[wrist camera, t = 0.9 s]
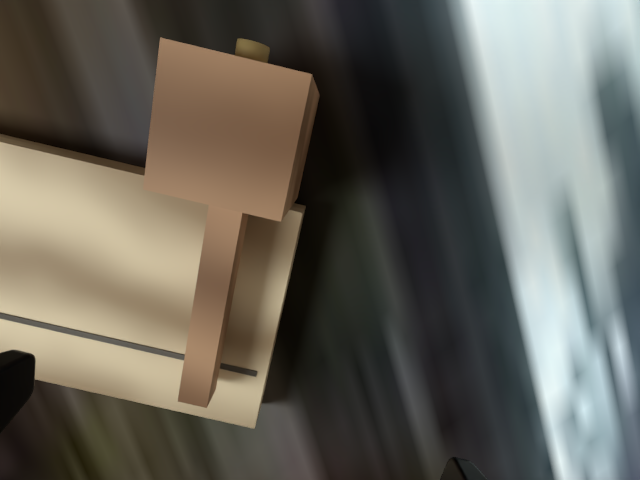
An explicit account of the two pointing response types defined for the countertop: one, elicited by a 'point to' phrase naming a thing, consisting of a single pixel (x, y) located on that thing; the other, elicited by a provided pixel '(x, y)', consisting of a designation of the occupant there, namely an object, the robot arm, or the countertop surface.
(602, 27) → the countertop surface
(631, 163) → the countertop surface
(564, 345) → the countertop surface
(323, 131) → the countertop surface
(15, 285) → the board
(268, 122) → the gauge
